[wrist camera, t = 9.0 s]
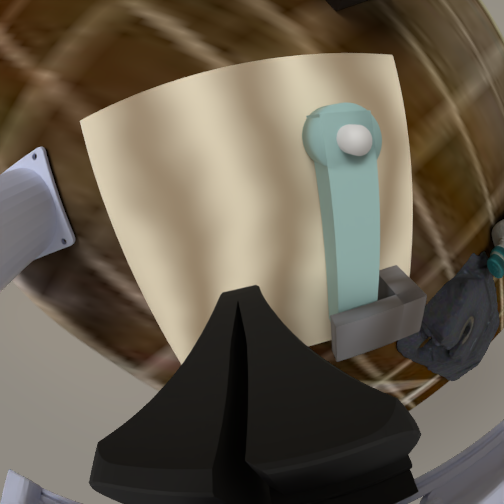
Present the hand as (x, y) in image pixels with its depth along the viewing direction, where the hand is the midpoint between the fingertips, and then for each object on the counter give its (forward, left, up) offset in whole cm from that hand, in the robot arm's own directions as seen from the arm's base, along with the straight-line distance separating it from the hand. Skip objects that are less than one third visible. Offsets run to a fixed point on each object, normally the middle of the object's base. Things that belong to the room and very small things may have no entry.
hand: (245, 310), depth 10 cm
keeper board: (+2, -1, -9) cm, 10 cm away
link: (+7, -1, -8) cm, 11 cm away
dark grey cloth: (+25, -20, -10) cm, 34 cm away
